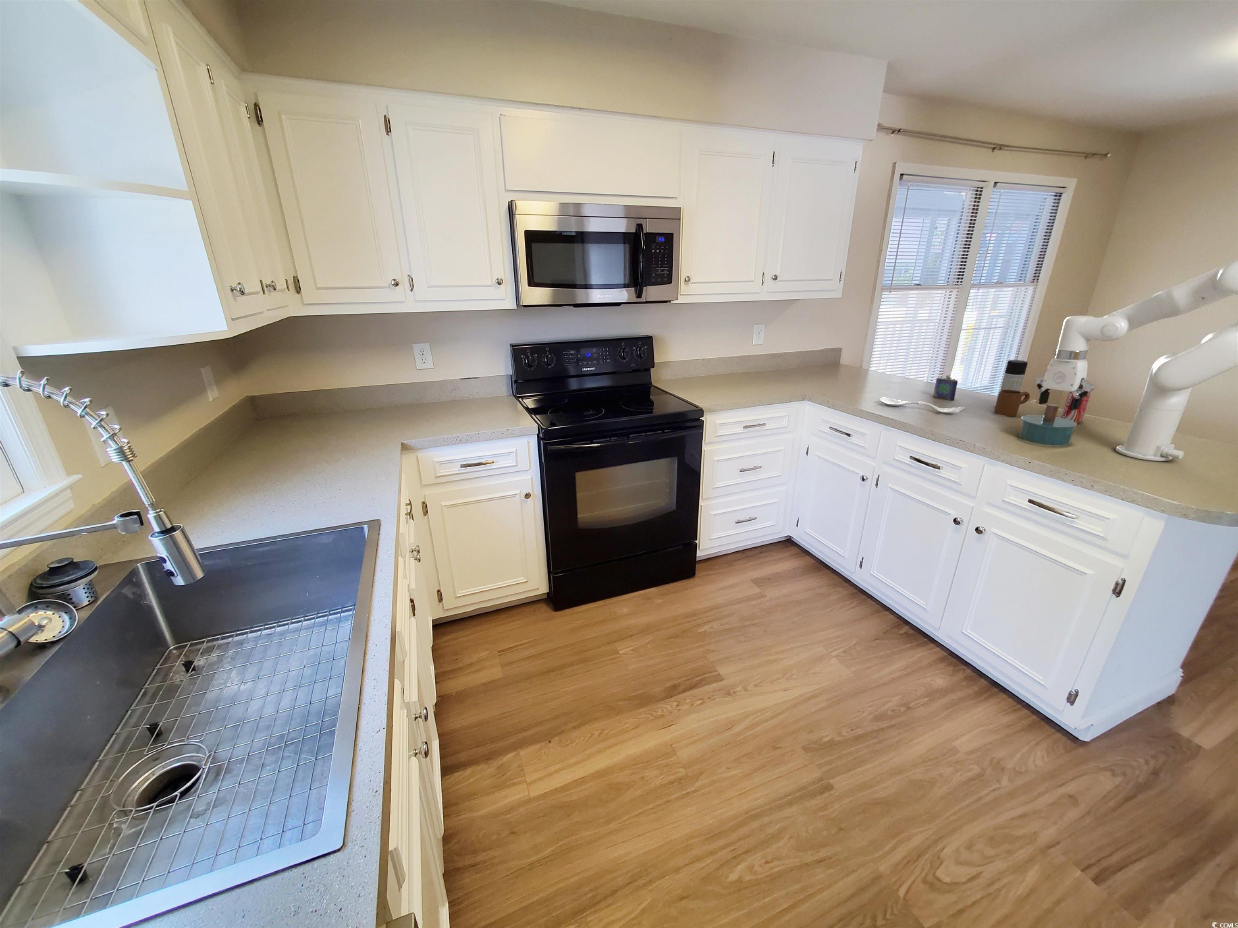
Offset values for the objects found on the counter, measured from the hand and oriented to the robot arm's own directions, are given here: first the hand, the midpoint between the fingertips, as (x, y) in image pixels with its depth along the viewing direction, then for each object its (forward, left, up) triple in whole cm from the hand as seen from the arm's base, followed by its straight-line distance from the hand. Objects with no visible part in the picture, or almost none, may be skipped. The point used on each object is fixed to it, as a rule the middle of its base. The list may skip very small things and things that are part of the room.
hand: (1058, 406), depth 166 cm
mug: (+28, -18, -12) cm, 36 cm away
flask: (+58, -16, -12) cm, 61 cm away
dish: (0, +2, -12) cm, 12 cm away
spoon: (+47, +9, -12) cm, 49 cm away
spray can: (+35, -24, -12) cm, 44 cm away
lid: (0, +2, -5) cm, 6 cm away
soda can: (+13, -29, -12) cm, 34 cm away
